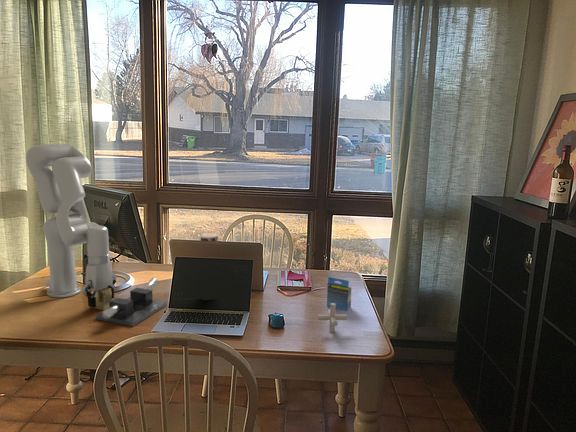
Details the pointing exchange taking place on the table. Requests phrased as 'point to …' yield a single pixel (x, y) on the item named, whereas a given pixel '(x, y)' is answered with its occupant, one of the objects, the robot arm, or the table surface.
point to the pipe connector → (332, 317)
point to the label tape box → (339, 293)
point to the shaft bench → (133, 306)
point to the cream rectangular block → (103, 298)
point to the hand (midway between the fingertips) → (101, 302)
